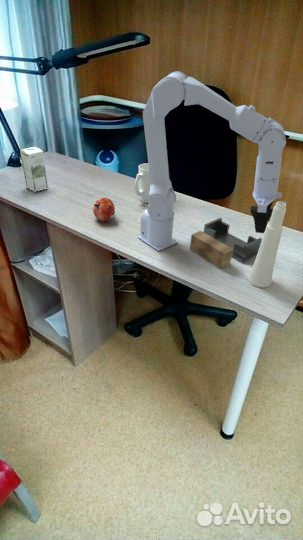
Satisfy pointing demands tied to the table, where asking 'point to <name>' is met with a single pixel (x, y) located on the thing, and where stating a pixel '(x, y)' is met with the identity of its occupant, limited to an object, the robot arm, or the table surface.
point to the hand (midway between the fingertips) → (261, 225)
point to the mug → (143, 183)
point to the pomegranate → (104, 209)
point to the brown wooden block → (211, 249)
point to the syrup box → (34, 168)
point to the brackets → (233, 240)
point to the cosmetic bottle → (268, 249)
